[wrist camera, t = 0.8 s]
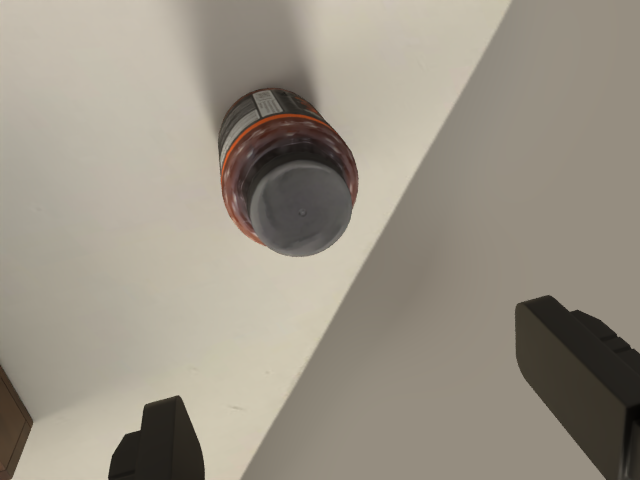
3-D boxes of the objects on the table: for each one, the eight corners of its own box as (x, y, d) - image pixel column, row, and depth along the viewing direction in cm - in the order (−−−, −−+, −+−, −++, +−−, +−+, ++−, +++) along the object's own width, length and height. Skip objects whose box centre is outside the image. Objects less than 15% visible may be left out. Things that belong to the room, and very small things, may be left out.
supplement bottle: (342, 144, 32) (407, 219, 22) (264, 208, 32) (292, 309, 22) (278, 61, 29) (317, 101, 19) (194, 132, 30) (189, 208, 20)
